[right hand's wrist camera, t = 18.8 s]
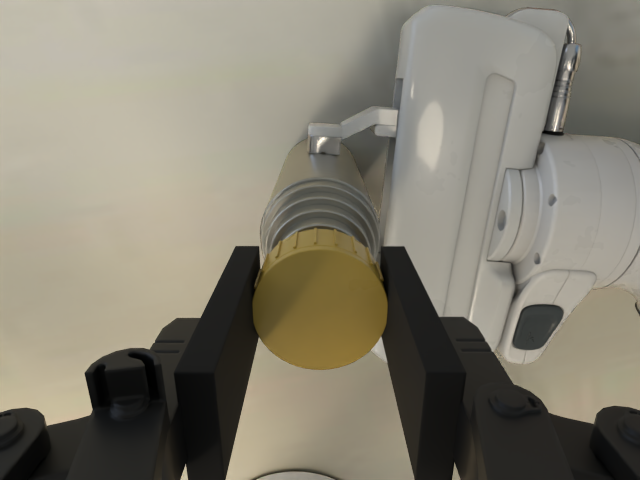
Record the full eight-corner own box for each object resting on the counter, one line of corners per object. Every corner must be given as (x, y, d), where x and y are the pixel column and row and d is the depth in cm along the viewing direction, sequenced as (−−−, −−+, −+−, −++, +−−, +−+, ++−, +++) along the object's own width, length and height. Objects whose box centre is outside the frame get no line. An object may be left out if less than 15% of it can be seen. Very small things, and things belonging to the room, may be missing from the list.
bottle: (359, 138, 31) (414, 226, 13) (353, 210, 32) (395, 377, 15) (284, 134, 31) (232, 218, 13) (282, 207, 32) (236, 371, 14)
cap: (280, 351, 16) (275, 385, 14) (239, 246, 14) (228, 270, 13) (394, 322, 15) (404, 353, 13) (364, 211, 14) (370, 230, 12)
